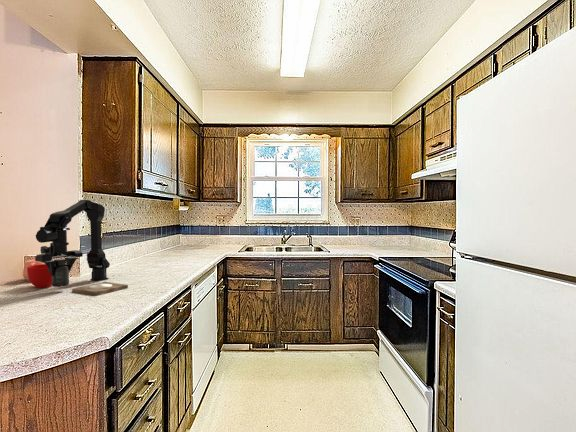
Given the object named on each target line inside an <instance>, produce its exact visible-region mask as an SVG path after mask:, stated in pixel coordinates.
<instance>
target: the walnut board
mask: <svg viewBox="0 0 576 432" xmlns="http://www.w3.org/2000/svg"><path fill="white" fill-rule="evenodd" d="M128 285H129V284H124V283H117V282H110V281H103V282H102V281H101V282H97V283H92V284H88V285H84V286H83V285H82V286H78V287H73V288H71V292H72V293H76V294H77V293H78V294H83V295H89V296H94V297H95V296H96V297H97V296H100V295H104V294H109V293H113V292H117V291H120V290H122V291H123V290H125V289H126V290H127V289H128V288H129V286H128Z"/></svg>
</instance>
